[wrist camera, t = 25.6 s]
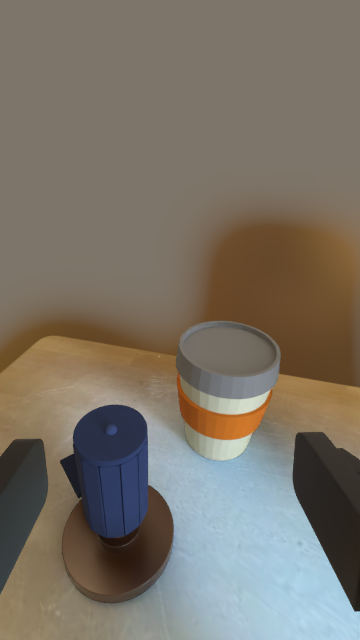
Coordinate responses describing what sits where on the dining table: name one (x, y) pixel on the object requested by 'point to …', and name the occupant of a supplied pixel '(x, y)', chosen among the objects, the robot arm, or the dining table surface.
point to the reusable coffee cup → (224, 385)
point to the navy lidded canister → (110, 469)
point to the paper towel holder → (118, 554)
